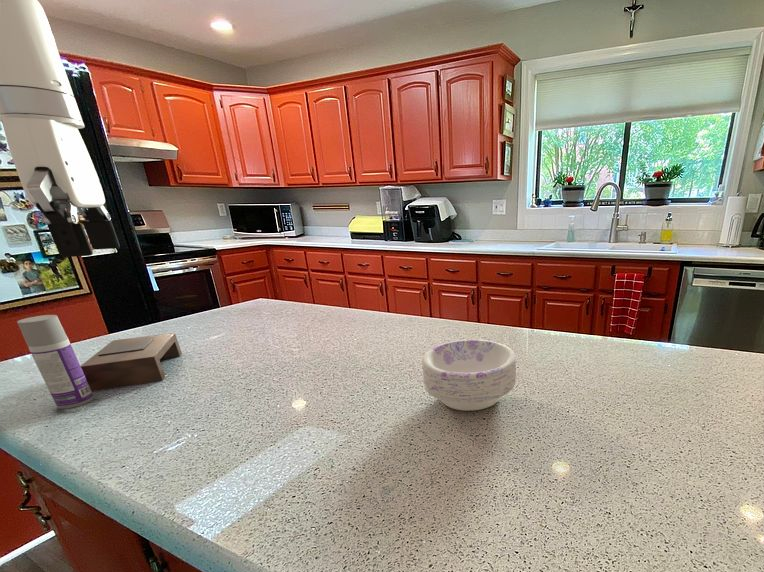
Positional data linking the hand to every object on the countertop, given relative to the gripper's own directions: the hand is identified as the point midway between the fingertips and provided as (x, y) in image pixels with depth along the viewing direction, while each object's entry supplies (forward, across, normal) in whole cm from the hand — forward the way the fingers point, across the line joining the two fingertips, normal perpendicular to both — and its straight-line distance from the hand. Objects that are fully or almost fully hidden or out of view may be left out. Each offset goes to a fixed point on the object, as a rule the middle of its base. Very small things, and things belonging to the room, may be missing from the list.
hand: (93, 252), depth 56 cm
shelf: (+25, -21, -7) cm, 34 cm away
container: (+26, -9, -13) cm, 30 cm away
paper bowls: (+26, +20, +49) cm, 58 cm away
